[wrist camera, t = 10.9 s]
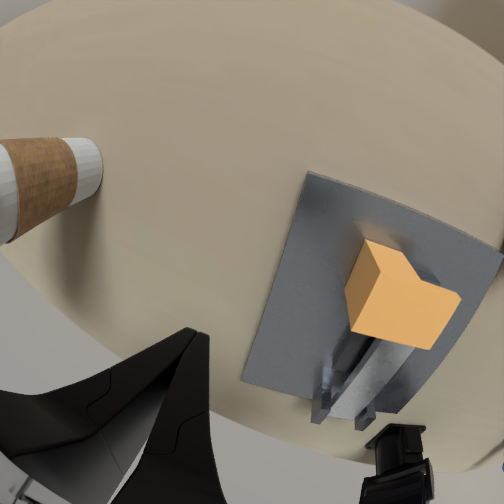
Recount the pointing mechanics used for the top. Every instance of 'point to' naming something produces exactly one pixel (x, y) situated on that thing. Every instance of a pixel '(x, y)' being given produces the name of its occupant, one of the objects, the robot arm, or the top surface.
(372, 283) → the block
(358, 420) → the base
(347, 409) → the strap
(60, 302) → the top surface
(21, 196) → the coffee cup
